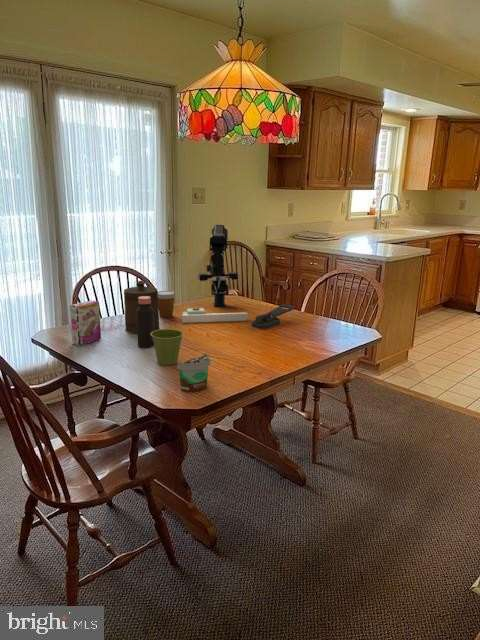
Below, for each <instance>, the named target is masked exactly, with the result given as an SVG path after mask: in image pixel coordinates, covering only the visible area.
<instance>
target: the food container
mask: <svg viewBox="0 0 480 640" xmlns="http://www.w3.org/2000/svg"><path fill="white" fill-rule="evenodd" d="M211 364H212V363H211V358H210V356H209V355H208V354H207V353H205V352H204V353H203V355H202V356H200V357H194V358H191V359H189V360H187V361H185V362H180V361H177V365H176V366H177V367H176V369H178V374H179V383H180V390H181V391H182V392H186V393H199V392H203V391H204V390H206V389H207V387H208V374H209V367H210V366H211Z"/></svg>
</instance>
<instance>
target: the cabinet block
mask: <svg viewBox="0 0 480 640" xmlns="http://www.w3.org/2000/svg"><path fill="white" fill-rule="evenodd" d="M186 312H187V314H206V310H205V308H204V307H200V308H199V307H193V308H192V307H190V308H186Z"/></svg>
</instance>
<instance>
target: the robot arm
mask: <svg viewBox="0 0 480 640" xmlns="http://www.w3.org/2000/svg"><path fill="white" fill-rule="evenodd" d="M228 237H229V232H228V229H227V228H226V227H225V224H215V225H214V227H213V228H212V229H211V236H210V237H209V251H210V252H211V256H210V261H211V265H210V264H207V265H206V267H205V270H206V272H207V273H206V272H199V273H198V274H197V279H198V280H199V282H201V281H202V282H205V281H206V282H207V280H209V281H210V282H211V286H210V287H211V295H212V296H213V297H214V298H213V301H214V302H213V303H212V305H213V307H217V308H218V307H227V304H226V296H228V295H229V289H230V288H229V285H228V283H227V279H231V280H232V281H233V280H239V274H238V273H237V272H236V271H228V272H227V273H225V252H226V251H227V250H228V241H229V238H228ZM208 273H209V274H208Z"/></svg>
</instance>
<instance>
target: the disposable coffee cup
mask: <svg viewBox="0 0 480 640" xmlns="http://www.w3.org/2000/svg"><path fill="white" fill-rule="evenodd" d="M175 298H176V293H175V291H173V290H160V291H158V310H159V318H162V319H169V318H172V317H173V316H174V305H175Z"/></svg>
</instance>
